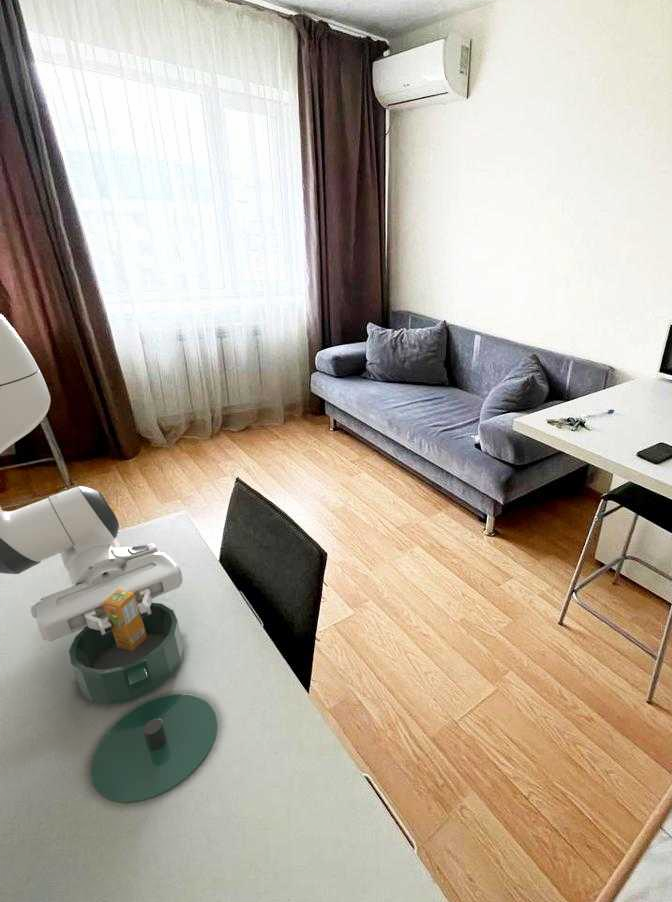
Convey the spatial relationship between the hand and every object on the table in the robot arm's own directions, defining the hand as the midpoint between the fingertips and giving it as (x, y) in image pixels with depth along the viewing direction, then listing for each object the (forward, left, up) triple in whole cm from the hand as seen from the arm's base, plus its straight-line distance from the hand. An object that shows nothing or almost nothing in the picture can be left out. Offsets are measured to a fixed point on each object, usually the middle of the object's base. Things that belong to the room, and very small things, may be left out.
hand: (126, 621), depth 78 cm
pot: (-1, +1, -11) cm, 11 cm away
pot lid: (-1, -16, -10) cm, 19 cm away
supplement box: (0, +1, -6) cm, 6 cm away
